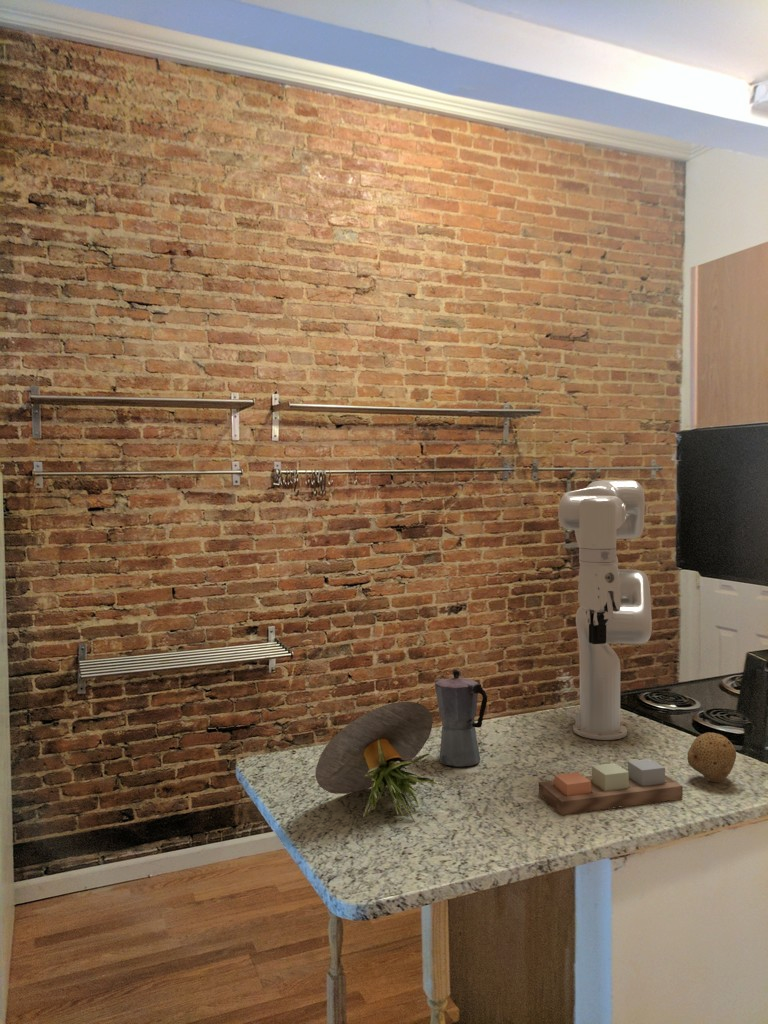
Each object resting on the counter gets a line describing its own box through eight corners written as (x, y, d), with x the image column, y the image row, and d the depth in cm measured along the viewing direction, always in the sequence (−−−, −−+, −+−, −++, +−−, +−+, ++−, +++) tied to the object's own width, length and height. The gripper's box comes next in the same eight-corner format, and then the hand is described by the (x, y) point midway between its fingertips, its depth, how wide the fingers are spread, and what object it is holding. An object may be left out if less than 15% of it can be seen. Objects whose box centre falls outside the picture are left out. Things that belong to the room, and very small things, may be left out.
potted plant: (315, 865, 142) (371, 792, 128) (290, 777, 153) (339, 702, 139) (428, 847, 155) (490, 779, 141) (398, 767, 166) (452, 697, 153)
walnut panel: (561, 814, 145) (561, 801, 145) (538, 794, 154) (538, 782, 154) (682, 798, 152) (682, 785, 152) (653, 780, 161) (653, 768, 161)
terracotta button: (567, 805, 148) (567, 784, 148) (554, 795, 153) (554, 774, 152) (591, 802, 149) (591, 781, 149) (578, 792, 154) (578, 772, 154)
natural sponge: (687, 786, 157) (687, 737, 157) (686, 770, 166) (687, 724, 165) (737, 792, 154) (737, 742, 154) (734, 776, 163) (734, 728, 162)
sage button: (605, 795, 150) (605, 774, 150) (591, 785, 155) (591, 765, 155) (628, 792, 151) (628, 772, 151) (614, 782, 156) (614, 763, 156)
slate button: (642, 790, 152) (642, 770, 152) (627, 781, 157) (627, 761, 157) (664, 787, 153) (665, 767, 153) (649, 778, 158) (649, 758, 158)
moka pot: (449, 747, 182) (448, 661, 181) (503, 764, 171) (502, 673, 170) (421, 758, 175) (420, 669, 174) (475, 776, 164) (474, 681, 163)
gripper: (633, 559, 159) (633, 649, 160) (595, 552, 173) (595, 635, 174) (600, 560, 157) (600, 652, 158) (564, 553, 171) (564, 637, 172)
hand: (597, 643), depth 166 cm, fingers closed
